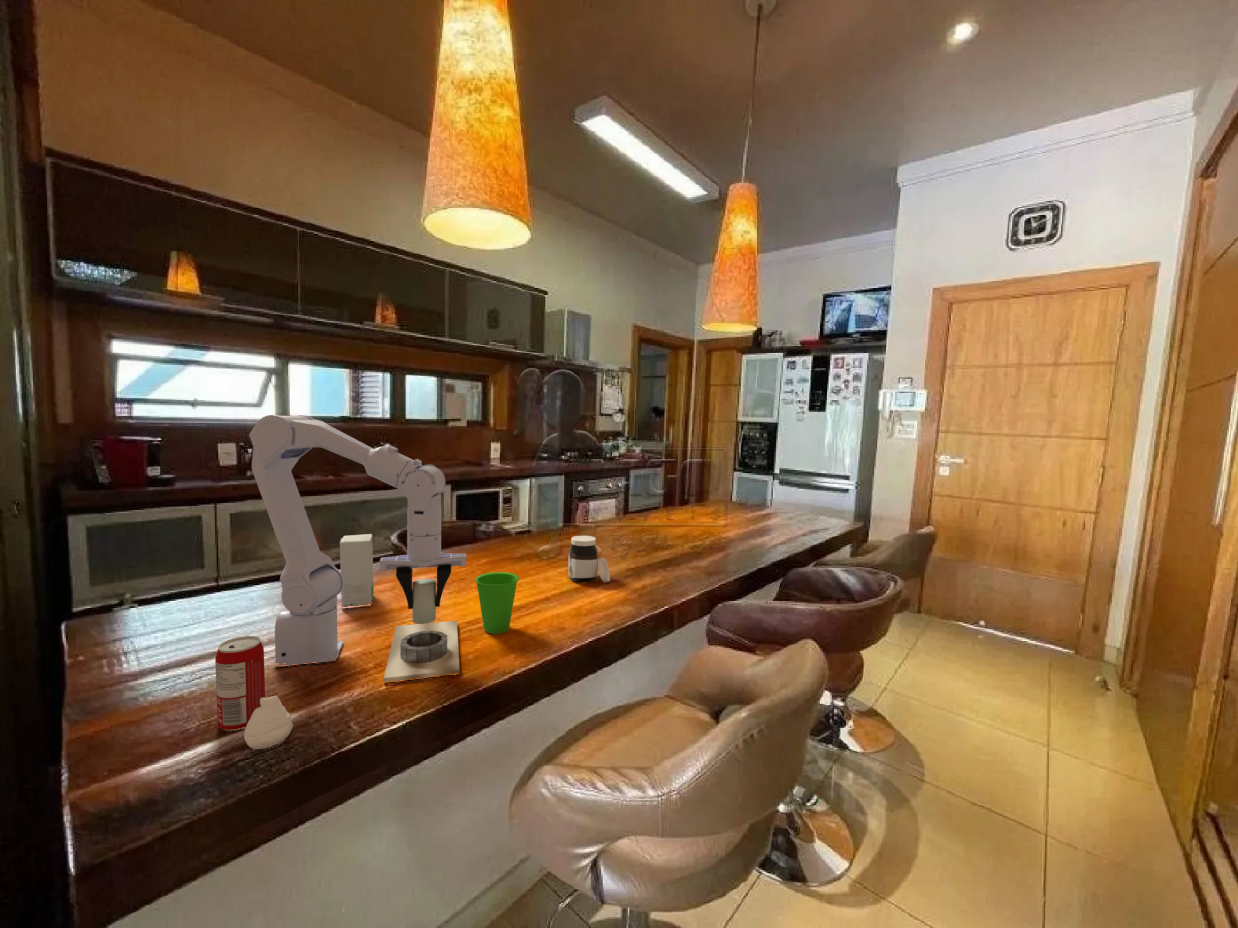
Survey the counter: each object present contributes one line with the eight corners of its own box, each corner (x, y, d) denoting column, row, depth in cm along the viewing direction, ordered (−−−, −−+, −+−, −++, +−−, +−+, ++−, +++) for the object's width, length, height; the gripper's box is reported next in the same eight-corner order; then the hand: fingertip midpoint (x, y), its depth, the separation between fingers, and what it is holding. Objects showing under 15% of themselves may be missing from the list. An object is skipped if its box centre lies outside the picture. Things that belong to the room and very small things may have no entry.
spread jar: (565, 574, 148) (566, 534, 147) (603, 572, 151) (604, 533, 150) (574, 587, 137) (575, 545, 136) (614, 585, 140) (616, 543, 139)
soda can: (264, 706, 78) (262, 630, 77) (266, 724, 73) (264, 643, 72) (218, 718, 74) (215, 638, 73) (217, 738, 70) (214, 653, 69)
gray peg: (411, 624, 91) (411, 586, 91) (414, 616, 95) (414, 579, 95) (434, 623, 92) (435, 585, 92) (436, 614, 96) (436, 578, 96)
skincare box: (371, 607, 118) (371, 541, 117) (339, 610, 116) (338, 542, 114) (374, 595, 126) (373, 532, 124) (343, 597, 123) (343, 534, 122)
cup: (473, 639, 103) (473, 585, 102) (475, 622, 112) (475, 572, 111) (519, 636, 105) (519, 583, 104) (517, 619, 114) (518, 571, 113)
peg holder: (383, 684, 85) (383, 663, 85) (396, 630, 106) (396, 614, 106) (459, 674, 89) (459, 655, 89) (456, 625, 110) (457, 609, 109)
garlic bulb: (290, 683, 73) (293, 701, 69) (291, 723, 74) (294, 743, 69) (243, 694, 70) (243, 714, 66) (244, 736, 71) (244, 758, 66)
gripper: (377, 539, 86) (378, 617, 88) (467, 536, 91) (466, 610, 92) (382, 530, 93) (382, 603, 94) (465, 528, 98) (465, 597, 99)
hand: (424, 606), depth 94 cm, fingers closed on gray peg, 4 cm apart
